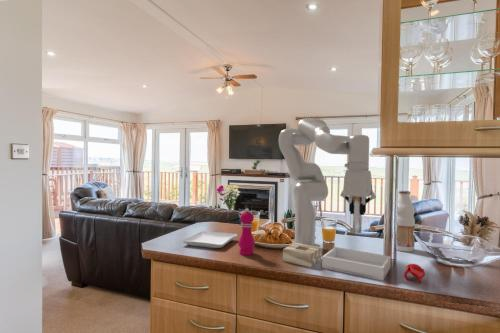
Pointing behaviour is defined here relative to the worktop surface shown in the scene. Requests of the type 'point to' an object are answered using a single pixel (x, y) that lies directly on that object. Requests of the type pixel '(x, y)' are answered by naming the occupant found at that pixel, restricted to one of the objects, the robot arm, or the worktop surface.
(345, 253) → the tray
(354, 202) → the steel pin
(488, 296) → the worktop surface
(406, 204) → the fruit juice
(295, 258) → the pin block
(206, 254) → the worktop surface
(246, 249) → the pepper mill
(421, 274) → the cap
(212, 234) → the salad plate
